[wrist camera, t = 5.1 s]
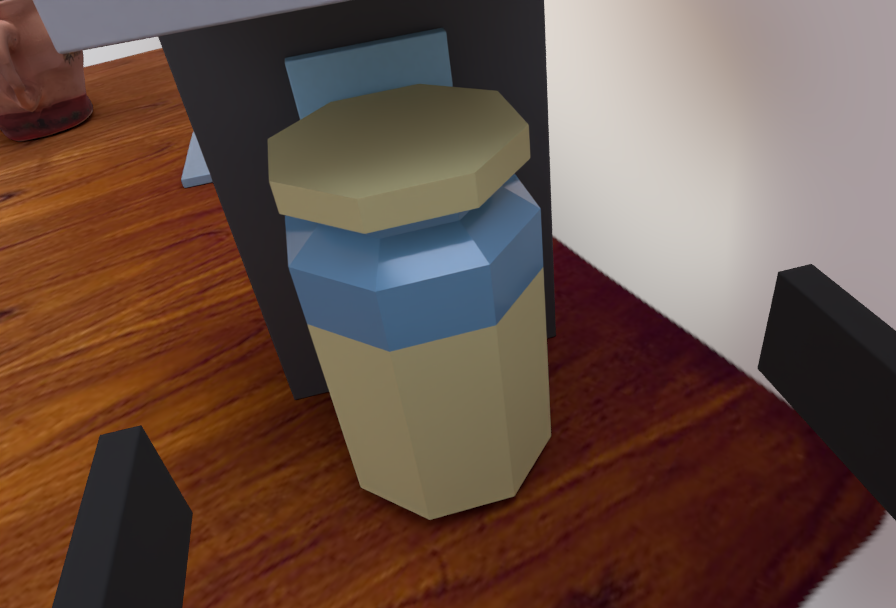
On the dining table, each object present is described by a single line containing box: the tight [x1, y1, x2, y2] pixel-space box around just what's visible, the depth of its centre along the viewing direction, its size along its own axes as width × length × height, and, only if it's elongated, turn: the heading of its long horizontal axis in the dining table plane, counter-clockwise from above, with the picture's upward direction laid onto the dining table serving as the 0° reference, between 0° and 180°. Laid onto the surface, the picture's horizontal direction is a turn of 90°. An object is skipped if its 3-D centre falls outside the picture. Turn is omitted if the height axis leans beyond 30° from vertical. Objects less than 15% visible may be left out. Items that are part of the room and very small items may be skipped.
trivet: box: [181, 132, 213, 188], centre depth 61 cm, size 11×11×1 cm
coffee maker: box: [33, 0, 556, 400], centre depth 25 cm, size 14×14×22 cm
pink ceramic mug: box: [0, 0, 93, 141], centre depth 69 cm, size 20×12×14 cm, turn 31°
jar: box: [268, 84, 551, 520], centre depth 26 cm, size 9×9×15 cm
